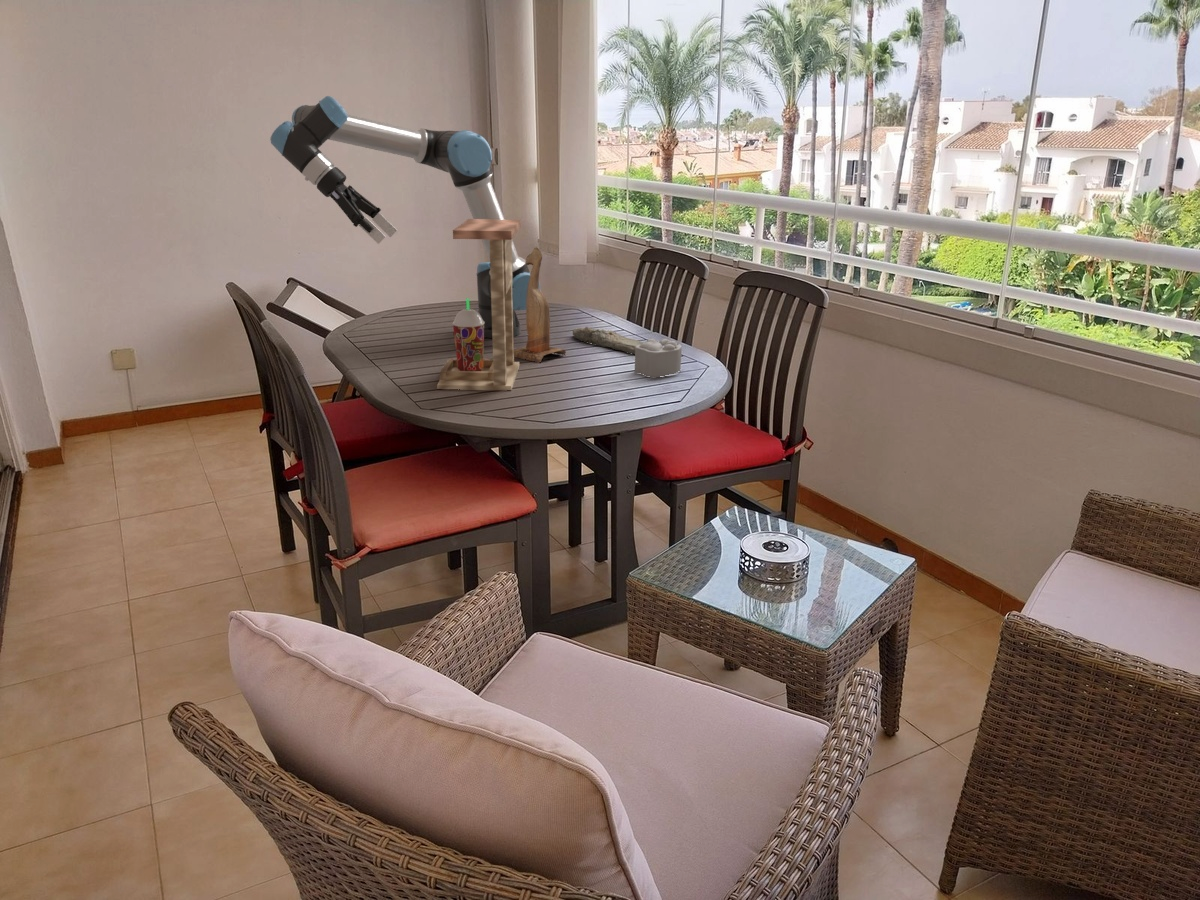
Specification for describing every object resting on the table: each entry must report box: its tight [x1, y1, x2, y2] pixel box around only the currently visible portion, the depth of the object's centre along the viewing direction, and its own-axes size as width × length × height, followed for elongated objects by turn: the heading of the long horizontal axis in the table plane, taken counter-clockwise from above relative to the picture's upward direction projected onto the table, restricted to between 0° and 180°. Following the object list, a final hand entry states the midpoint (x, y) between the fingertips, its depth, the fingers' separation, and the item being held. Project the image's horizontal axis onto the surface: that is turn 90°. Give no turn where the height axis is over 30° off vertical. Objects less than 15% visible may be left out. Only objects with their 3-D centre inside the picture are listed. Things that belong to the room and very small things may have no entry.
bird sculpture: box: [514, 246, 567, 363], centre depth 249 cm, size 11×12×32 cm
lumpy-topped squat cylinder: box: [634, 338, 682, 377], centre depth 240 cm, size 10×13×9 cm
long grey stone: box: [572, 326, 646, 355], centre depth 268 cm, size 35×5×10 cm
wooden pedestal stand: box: [436, 218, 522, 391], centre depth 226 cm, size 20×26×40 cm
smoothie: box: [452, 297, 485, 371], centre depth 229 cm, size 8×8×20 cm
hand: (388, 236), depth 228 cm, fingers open, 13 cm apart
